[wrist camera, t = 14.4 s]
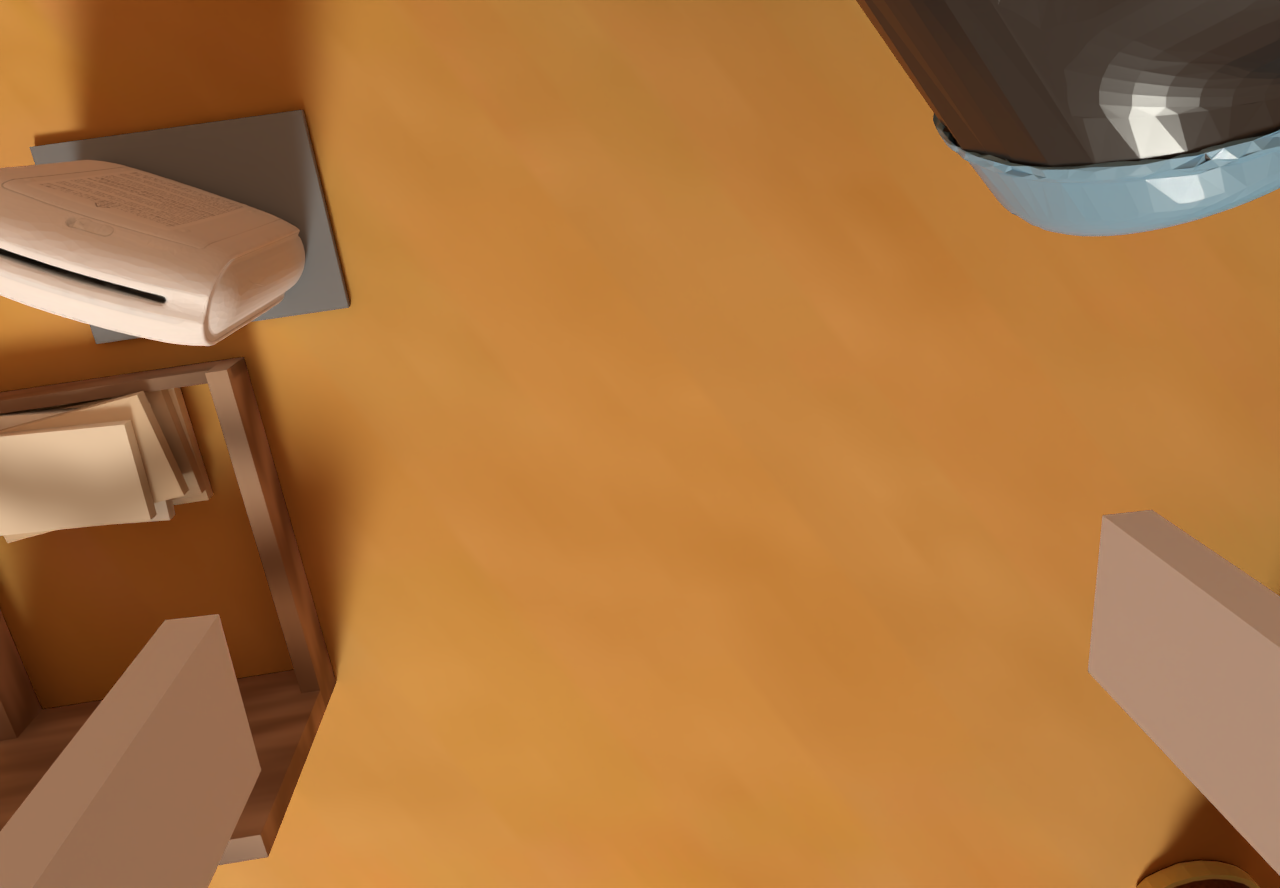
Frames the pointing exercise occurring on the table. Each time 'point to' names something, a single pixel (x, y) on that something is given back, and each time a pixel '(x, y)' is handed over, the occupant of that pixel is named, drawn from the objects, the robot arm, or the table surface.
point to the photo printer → (140, 252)
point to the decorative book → (1200, 876)
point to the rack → (274, 703)
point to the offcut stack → (98, 464)
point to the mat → (237, 188)
